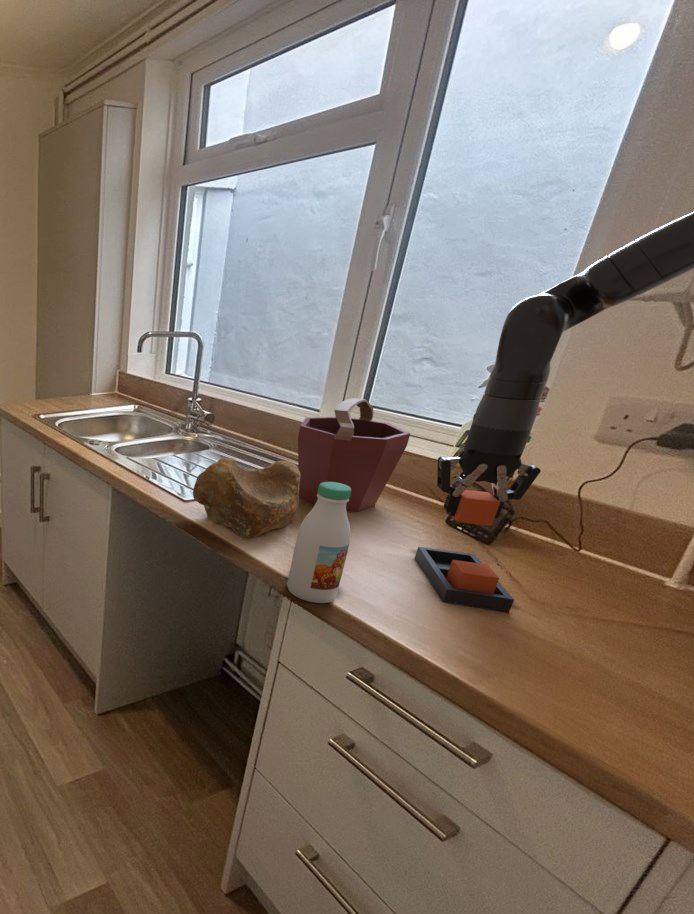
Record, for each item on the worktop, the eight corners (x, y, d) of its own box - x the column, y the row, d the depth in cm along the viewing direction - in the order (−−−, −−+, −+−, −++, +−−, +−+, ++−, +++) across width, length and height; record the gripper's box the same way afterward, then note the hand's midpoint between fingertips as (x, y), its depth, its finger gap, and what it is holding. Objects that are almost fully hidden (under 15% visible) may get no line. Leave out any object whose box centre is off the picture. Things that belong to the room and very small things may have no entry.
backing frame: (470, 565, 100) (474, 553, 99) (509, 612, 86) (514, 599, 85) (414, 557, 104) (418, 546, 103) (442, 602, 89) (447, 589, 88)
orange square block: (478, 586, 92) (487, 564, 91) (490, 601, 88) (499, 578, 86) (444, 581, 94) (452, 559, 92) (454, 595, 90) (462, 572, 88)
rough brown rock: (211, 550, 109) (227, 485, 102) (182, 513, 124) (193, 453, 117) (316, 547, 111) (338, 483, 104) (275, 511, 126) (291, 453, 119)
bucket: (348, 523, 119) (375, 414, 109) (262, 493, 136) (280, 397, 127) (404, 502, 130) (433, 401, 121) (318, 477, 148) (338, 388, 138)
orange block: (479, 515, 95) (487, 492, 93) (491, 525, 91) (500, 501, 89) (446, 511, 97) (454, 488, 95) (457, 522, 92) (465, 498, 91)
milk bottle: (287, 599, 90) (311, 490, 83) (284, 578, 97) (306, 475, 89) (339, 608, 87) (368, 496, 80) (332, 585, 94) (358, 480, 86)
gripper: (457, 424, 86) (427, 519, 93) (569, 432, 82) (529, 531, 88) (442, 415, 93) (415, 504, 99) (545, 421, 88) (509, 514, 94)
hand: (469, 516), depth 94 cm, fingers closed on orange block, 5 cm apart
